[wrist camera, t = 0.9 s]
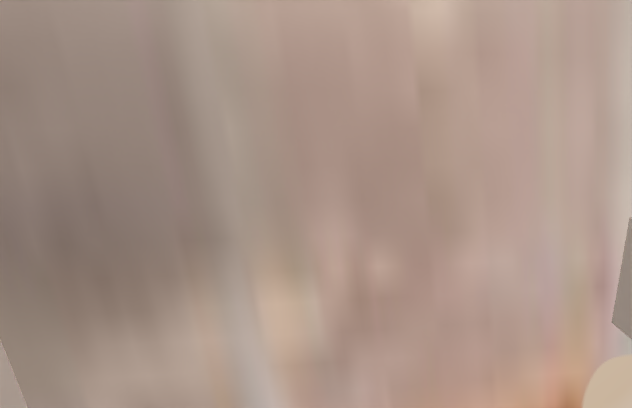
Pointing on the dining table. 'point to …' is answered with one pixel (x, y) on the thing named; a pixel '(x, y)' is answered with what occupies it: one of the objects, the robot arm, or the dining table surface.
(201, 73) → the dining table surface
